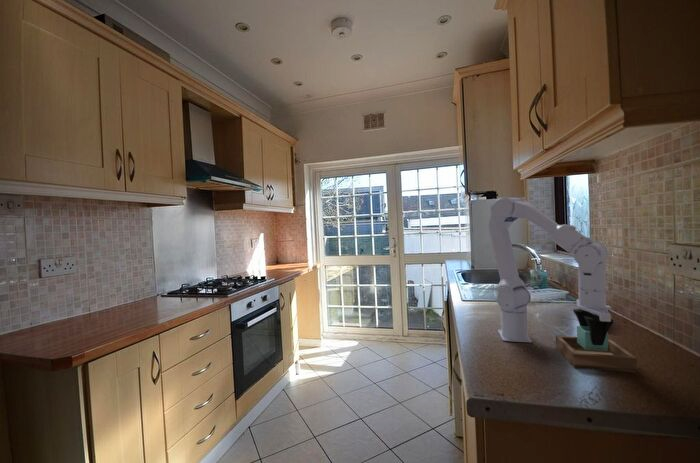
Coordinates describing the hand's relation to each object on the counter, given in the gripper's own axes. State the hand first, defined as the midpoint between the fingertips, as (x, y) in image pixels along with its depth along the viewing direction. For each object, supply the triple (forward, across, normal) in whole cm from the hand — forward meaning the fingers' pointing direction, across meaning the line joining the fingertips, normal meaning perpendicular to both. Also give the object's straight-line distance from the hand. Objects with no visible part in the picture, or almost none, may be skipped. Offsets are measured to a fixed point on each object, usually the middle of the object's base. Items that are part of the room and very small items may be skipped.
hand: (592, 340), depth 85 cm
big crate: (+5, 0, 0) cm, 5 cm away
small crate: (+2, 0, 0) cm, 2 cm away
